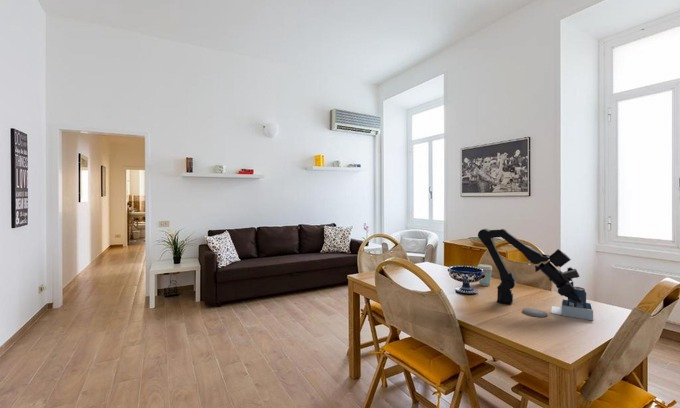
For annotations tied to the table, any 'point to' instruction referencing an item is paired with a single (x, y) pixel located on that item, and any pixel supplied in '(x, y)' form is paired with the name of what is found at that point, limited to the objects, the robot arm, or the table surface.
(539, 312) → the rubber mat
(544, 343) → the table surface
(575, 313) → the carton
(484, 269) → the coffee cup
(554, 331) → the table surface
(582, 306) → the soda can
